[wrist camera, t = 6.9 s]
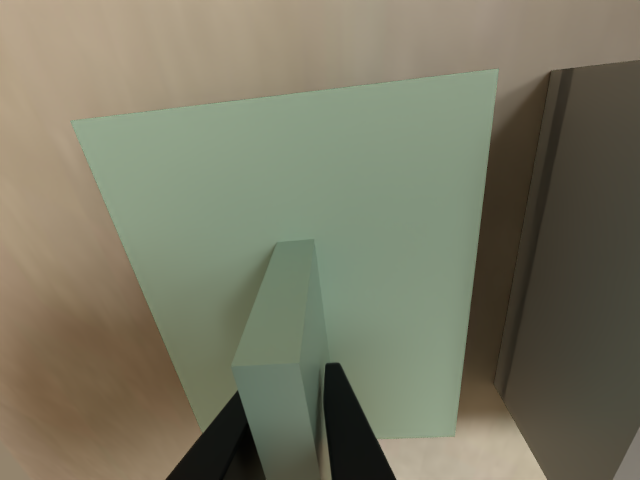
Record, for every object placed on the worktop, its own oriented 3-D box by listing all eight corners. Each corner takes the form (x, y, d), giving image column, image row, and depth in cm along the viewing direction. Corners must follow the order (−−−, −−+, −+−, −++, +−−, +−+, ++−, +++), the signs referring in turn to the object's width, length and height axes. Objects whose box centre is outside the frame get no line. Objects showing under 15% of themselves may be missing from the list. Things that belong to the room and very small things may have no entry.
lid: (466, 74, 9) (747, 26, 3) (440, 396, 15) (515, 605, 9) (116, 116, 10) (-231, 148, 4) (220, 406, 16) (150, 603, 10)
